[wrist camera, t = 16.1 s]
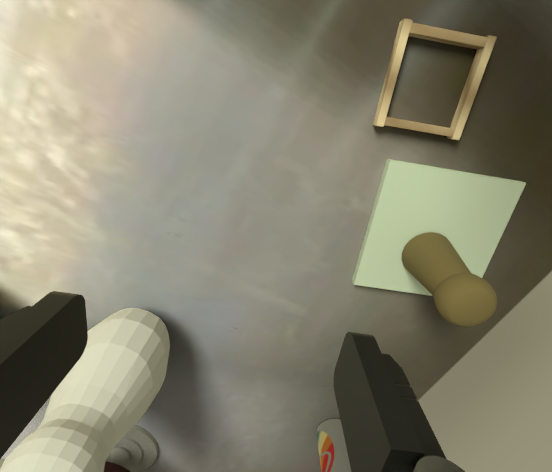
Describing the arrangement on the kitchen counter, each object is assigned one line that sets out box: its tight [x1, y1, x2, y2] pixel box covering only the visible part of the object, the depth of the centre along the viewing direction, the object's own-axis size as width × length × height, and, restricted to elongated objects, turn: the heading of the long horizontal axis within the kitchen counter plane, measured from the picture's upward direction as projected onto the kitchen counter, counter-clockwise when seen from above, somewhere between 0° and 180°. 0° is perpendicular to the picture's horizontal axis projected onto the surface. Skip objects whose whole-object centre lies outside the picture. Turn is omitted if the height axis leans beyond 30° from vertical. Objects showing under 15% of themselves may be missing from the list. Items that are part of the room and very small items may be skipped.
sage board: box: [352, 159, 526, 296], centre depth 38 cm, size 16×16×1 cm
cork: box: [401, 232, 497, 327], centre depth 33 cm, size 6×6×11 cm
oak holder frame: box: [373, 19, 497, 140], centre depth 31 cm, size 10×9×1 cm
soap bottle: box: [0, 308, 170, 472], centre depth 30 cm, size 17×12×29 cm
